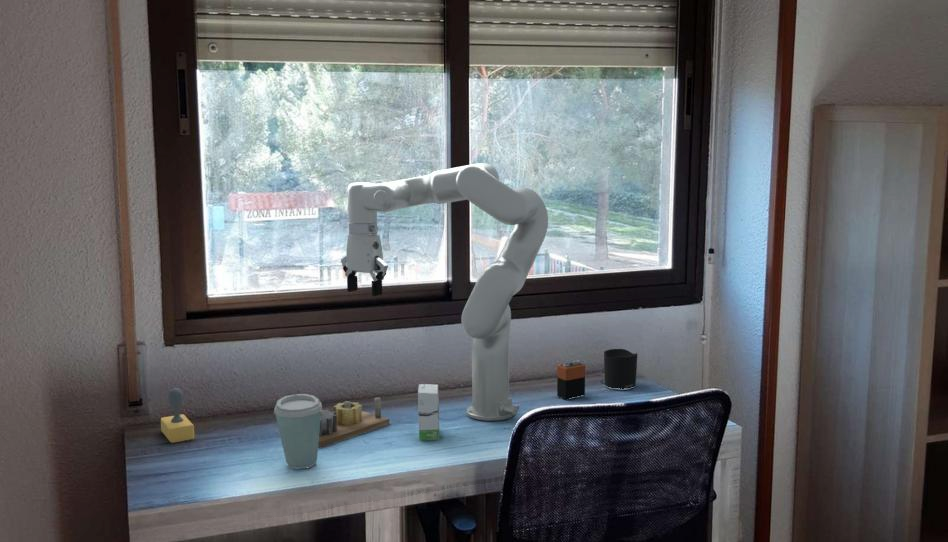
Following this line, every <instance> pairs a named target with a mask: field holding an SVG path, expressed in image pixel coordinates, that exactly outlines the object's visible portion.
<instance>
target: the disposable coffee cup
mask: <svg viewBox="0 0 948 542" xmlns="http://www.w3.org/2000/svg"><path fill="white" fill-rule="evenodd" d="M321 410H323V405H322V402H321V401H320V399H319V398H318V397H316V396H315V395H312V394H307V393H299V394H298V393H297V394H290V395H284V396H283V397H281V398H279V399H278V400H277V401H276V404H275V407H274V409H273V414H275V417H276V422H277V427H278V432H279V436H280V440H281V445H282V450H283V454H284V457H285V458H284V459H285V461H286V462H285V463H286V464H287V466H288V468H290V467H291V468H290V469H292V468H297V469H296V470H299V469H298V468H306V469H308V468H307V467H310V468H312V467H314V466H316V463H317V460H318V453H319V447H318V442H319V429H320V417H321ZM313 465H314V466H313Z"/></svg>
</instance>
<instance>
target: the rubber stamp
mask: <svg viewBox="0 0 948 542" xmlns="http://www.w3.org/2000/svg"><path fill="white" fill-rule="evenodd" d="M183 398H184V394H183V391H182V390H181V389H180V388H178V387H174V388H171V389H170V390H169V391H168V398H167V399H168V402H169V405H170V407H171V408H172V411H173V414H174V415H171V416H170V415H169V416H164V417H161V418H160V428H161V429H160V430H161V432H162V433H163V435H164V436H165V438H166V439H167V440H168V441H169V442H170V443H172V444H175V443H178V442H179V443H180V442H186V441H191V440H194V439H195V426H194V424H193V423H192V422H191V421H190V419H189V418H188V417H187V416H186V415H185V414H182V413H181V414H180V410H181V407H182V404H183V400H184V399H183ZM190 439H191V440H190ZM185 440H186V441H185Z"/></svg>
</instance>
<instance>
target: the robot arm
mask: <svg viewBox="0 0 948 542" xmlns="http://www.w3.org/2000/svg"><path fill="white" fill-rule="evenodd" d="M466 200H467V201H469V202H470V203H471V204H472V205H474V206H476V207H477V208H479V209H480V210H482V211H483V212H484V213H486V214H488V216H490V217H492V218H493V219H495V220H497V221H498V222H500V223H502V224H504V225H508V226H513V228H512V230H511V232H510V234H509V235H508V237H507V239H506V241H505V243H504V246H503V248H502V250H501V252H500V253H499V255H498V257H497V259H496V260H495V261H493V262H492V263H490V264H489V265H487V266H486V267H485V268H484V269H483V270H482V272H481V273H480V275H479V277H478V278H477V280H476V282H475V284H474V287H473V288H472V290H471V292H470V295H469V297H468V299H467V301H466V303H465V305H464V308H463V310H462V313H461V318H460V319H461V322H460V323H461V326H462V329H463V330H464V332H465V334H467V335H468V336H469V337H471V338H472V343H471V381H472V382H471V385H472V387H471V388H472V389H471V395H472V396H471V397H472V398H471V401H472V402H471V403H472V404H471V405H470V406H468V407H467V408H466V410H465V411H466V416H468V417H469V418H471V419H475V420H477V421H483V422H484V421H486V422H495V421H496V422H497V421H505V420H508V419H510V418H512V417H515V416H516V415H517V414H518V411H519V410H520V406H519V405H517V404H513V398H512V397H510V371H509V370H510V358H509V357H510V333H511V322H512V312H511V311H512V310H511V307H510V302H511V300H512V299H513V296H515V295H516V294H518V293H519V292H520V291H521V289H522V288H523V287H524V285H525V282H526V280H527V277H528V276H529V273H530V272H531V268H532V267H533V265H534V262H535V261H536V259H537V256H538V253H539V251H540V250H541V247H542V246H543V243H544V240H545V238H546V236H547V232H548V226H549V214H548V210H547V206H546V203H545V202H544V201H543V199H542V197H541V196H540V195H539V194H538V193H537V192H536V191H534V190H533V189H531V188H529V187H524V186H523V187H522V186H521V187H515V188H512V187H510V186H509V185H507V184H505V183H504V182H502V181H500V176H499V173H498V171H497V169H496V168H495V167H494V166H493V165H491V164H489V163H487V162H478V163H472V164H467V165H461V166H456V167H450V168H446V169H445V168H444V169H440V170H434V171H432V172H430V173H428V174H425V175H420V176H416V177H410V178H405V179H398V180H391V181H387V182H381V183H380V182H379V183H373V182H368V181H357V182H352V183H349V185H348V186H347V212H348V213H347V214H348V215H347V216H348V234H347V241H346V256H344V257H342V258H341V259H340V263H341V265H342V270H343V271H344V273H345V274H344V276H345V277H346V287H347V290H346V291H347V292H348V293H349V292H356V291H358V289H359V285H358V275H356V274H357V273H365V274H369V275H370V277H371V278H372V281H371V295H372V297H377V296H382V295H383V280H384V279H385V276H387V271H388V268H389V264H387V263H386V262H385V261H384V256H383V255H384V254H383V245H382V240H381V237H380V234H378V232H379V227H378V212H381V213H388V212H392V211H395V210H400V209H405V208H409V207H415V206H417V207H418V206H421V205H427V204H437V205H443V204H444V205H445V204H449V203H455V202H461V201H466Z"/></svg>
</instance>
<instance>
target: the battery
mask: <svg viewBox="0 0 948 542" xmlns="http://www.w3.org/2000/svg"><path fill="white" fill-rule="evenodd" d="M556 367H557V373H556V374H557V375H556V376H557V377H556V378H557V382H556V384H557V388H556V391H557V392H556V393H557V394H556V395H557V397H558V396H559V397H558V398H560V397H562V398H565V399H569V398H572V397H577V396H581V395H585V396H586V365H585V364H584V363H581V360H579V359H573V360H572V361H571V362H563V363H562V364H558V365H557V366H556ZM562 398H561V399H562ZM565 399H564V400H565Z"/></svg>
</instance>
